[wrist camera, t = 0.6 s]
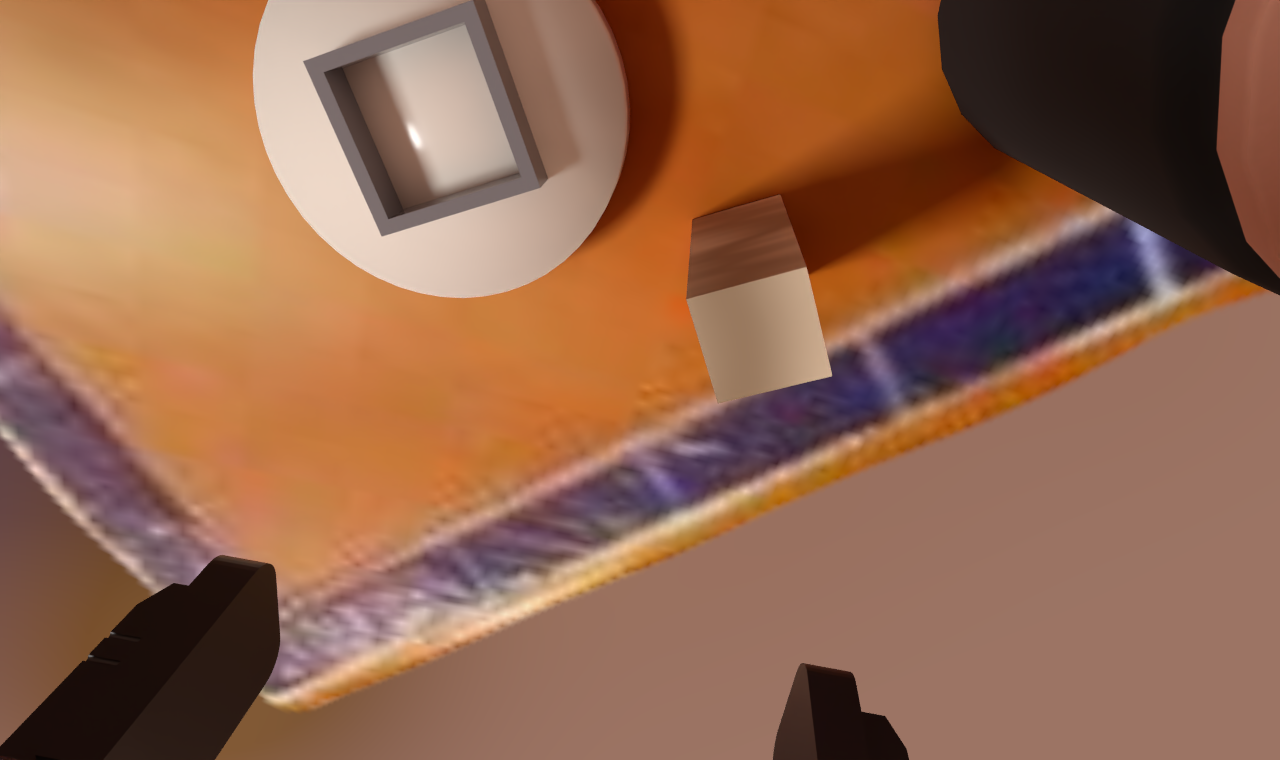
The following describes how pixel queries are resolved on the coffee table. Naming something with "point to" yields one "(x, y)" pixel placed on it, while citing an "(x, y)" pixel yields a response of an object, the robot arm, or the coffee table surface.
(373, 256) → the candle dish
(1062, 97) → the coffee jar
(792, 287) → the wood grain block
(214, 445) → the coffee table surface
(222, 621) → the robot arm
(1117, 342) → the coffee table surface
